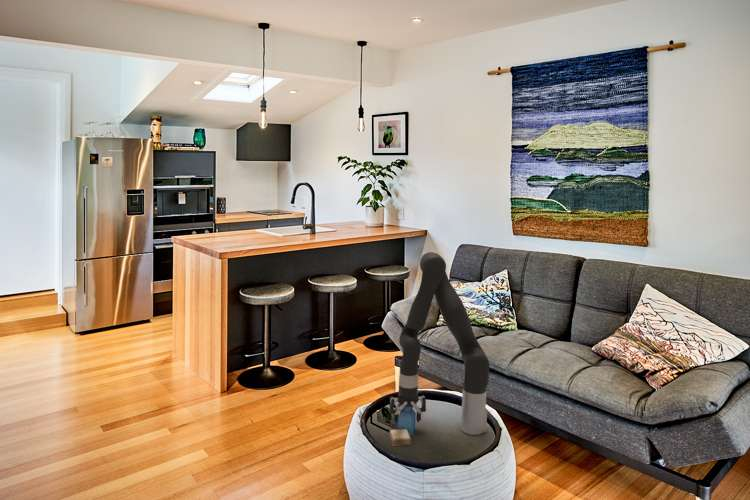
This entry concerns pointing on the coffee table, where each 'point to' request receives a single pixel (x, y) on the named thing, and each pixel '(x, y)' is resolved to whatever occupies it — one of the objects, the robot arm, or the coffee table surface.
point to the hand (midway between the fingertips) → (407, 421)
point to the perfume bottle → (407, 419)
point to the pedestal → (400, 437)
